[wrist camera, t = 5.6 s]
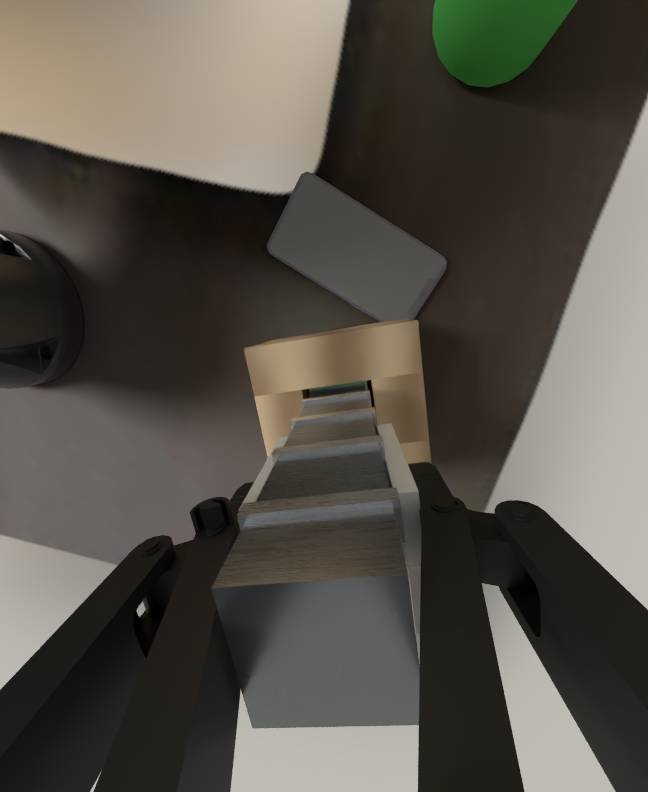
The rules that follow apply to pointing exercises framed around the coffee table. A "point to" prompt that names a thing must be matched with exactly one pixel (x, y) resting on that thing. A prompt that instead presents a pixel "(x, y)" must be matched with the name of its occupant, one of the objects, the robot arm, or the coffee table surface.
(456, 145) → the coffee table surface
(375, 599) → the column
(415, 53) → the coffee table surface
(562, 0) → the bottle
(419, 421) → the housing
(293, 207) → the smartphone
